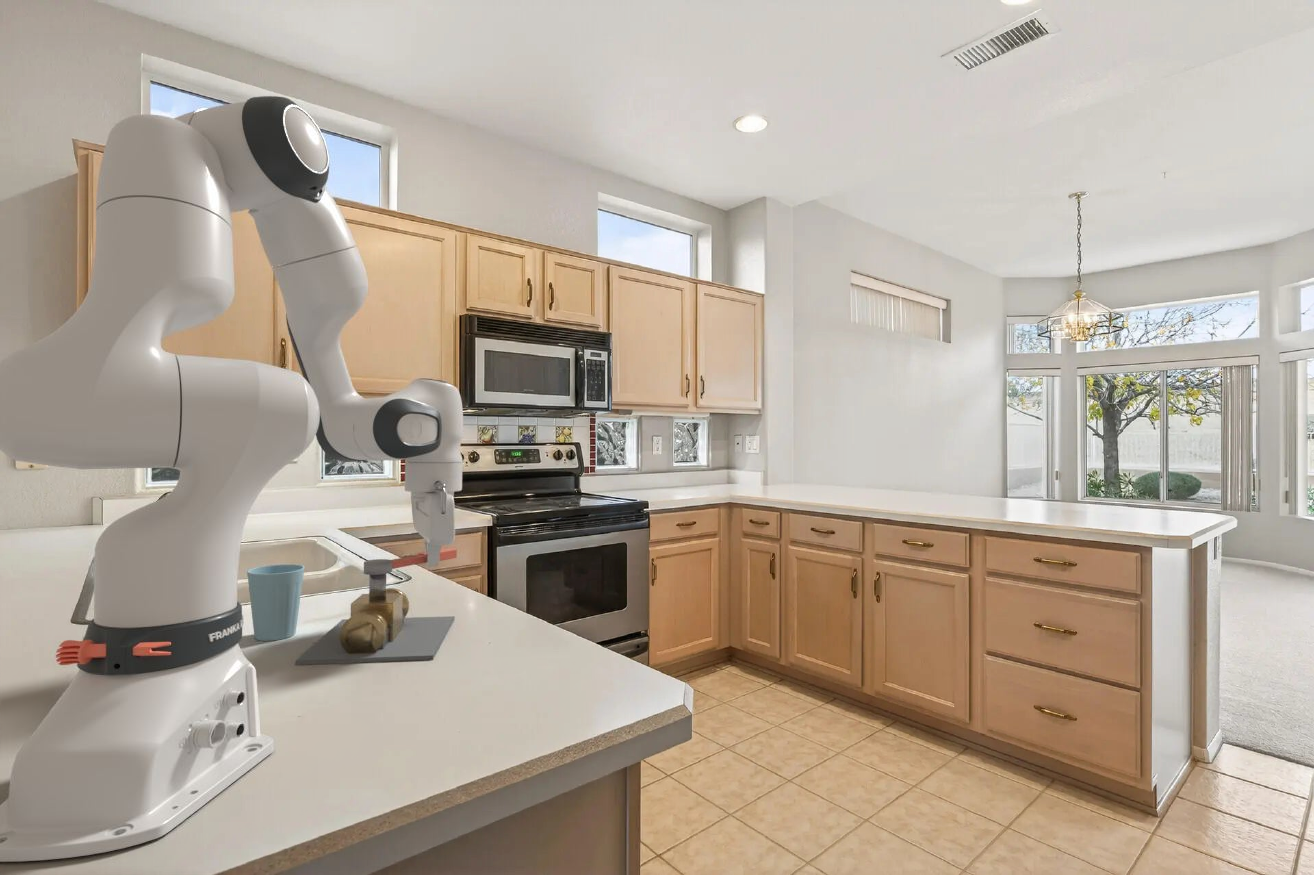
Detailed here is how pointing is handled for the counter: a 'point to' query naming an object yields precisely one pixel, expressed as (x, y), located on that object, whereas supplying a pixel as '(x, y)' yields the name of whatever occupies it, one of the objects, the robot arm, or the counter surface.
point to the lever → (403, 562)
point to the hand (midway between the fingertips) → (432, 565)
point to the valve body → (374, 618)
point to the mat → (410, 644)
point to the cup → (275, 600)
